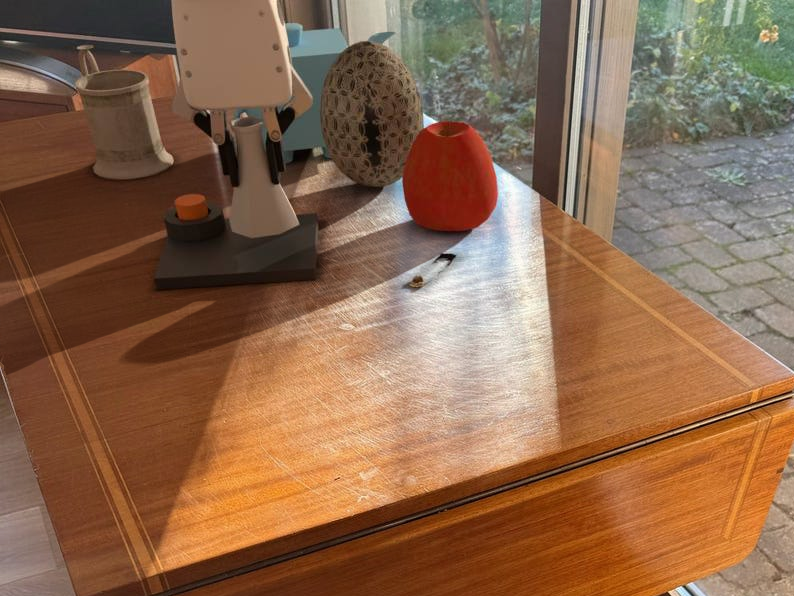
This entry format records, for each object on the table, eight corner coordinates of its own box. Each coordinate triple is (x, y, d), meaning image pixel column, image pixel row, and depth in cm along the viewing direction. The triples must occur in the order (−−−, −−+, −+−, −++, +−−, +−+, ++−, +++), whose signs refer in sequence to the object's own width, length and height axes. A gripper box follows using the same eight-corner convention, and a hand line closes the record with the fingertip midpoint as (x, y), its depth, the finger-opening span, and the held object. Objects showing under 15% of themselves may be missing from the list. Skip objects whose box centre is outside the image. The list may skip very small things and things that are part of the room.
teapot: (235, 170, 121) (211, 44, 112) (231, 140, 129) (208, 20, 119) (410, 152, 124) (401, 28, 115) (396, 124, 132) (387, 5, 122)
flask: (311, 227, 101) (296, 123, 94) (247, 246, 99) (227, 139, 91) (280, 206, 106) (263, 104, 98) (218, 222, 103) (196, 119, 96)
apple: (416, 248, 104) (408, 143, 97) (396, 211, 111) (388, 111, 104) (508, 235, 106) (508, 131, 98) (483, 200, 113) (481, 100, 106)
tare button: (176, 223, 104) (172, 206, 103) (180, 211, 106) (176, 194, 105) (207, 221, 104) (203, 204, 103) (210, 209, 106) (206, 193, 105)
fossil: (442, 258, 103) (441, 250, 103) (458, 260, 103) (457, 252, 102) (406, 289, 98) (406, 281, 98) (423, 292, 98) (422, 283, 97)
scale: (156, 290, 99) (148, 260, 97) (174, 230, 109) (167, 203, 107) (315, 279, 100) (311, 250, 97) (319, 222, 110) (315, 194, 108)
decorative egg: (426, 164, 121) (418, 25, 111) (428, 201, 113) (419, 54, 103) (331, 168, 121) (314, 29, 111) (326, 206, 113) (307, 59, 102)
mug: (186, 166, 123) (161, 58, 115) (111, 185, 119) (80, 75, 110) (139, 136, 131) (113, 34, 123) (68, 153, 127) (36, 49, 119)
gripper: (313, -50, 89) (338, 162, 102) (129, -41, 88) (178, 172, 101) (310, -32, 84) (338, 190, 97) (115, -22, 83) (169, 200, 96)
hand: (256, 179), depth 99 cm, fingers closed on flask, 3 cm apart
